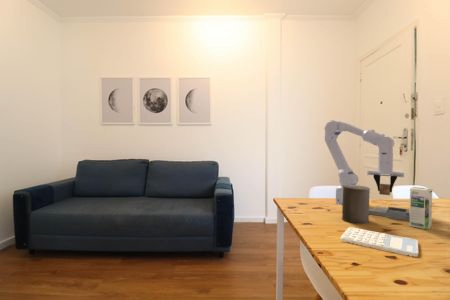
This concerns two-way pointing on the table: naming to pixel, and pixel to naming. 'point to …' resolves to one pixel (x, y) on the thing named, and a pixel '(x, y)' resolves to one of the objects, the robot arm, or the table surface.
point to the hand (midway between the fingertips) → (384, 191)
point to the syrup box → (420, 207)
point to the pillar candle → (355, 204)
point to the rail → (392, 213)
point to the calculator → (381, 241)
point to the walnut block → (384, 189)
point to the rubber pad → (381, 208)
